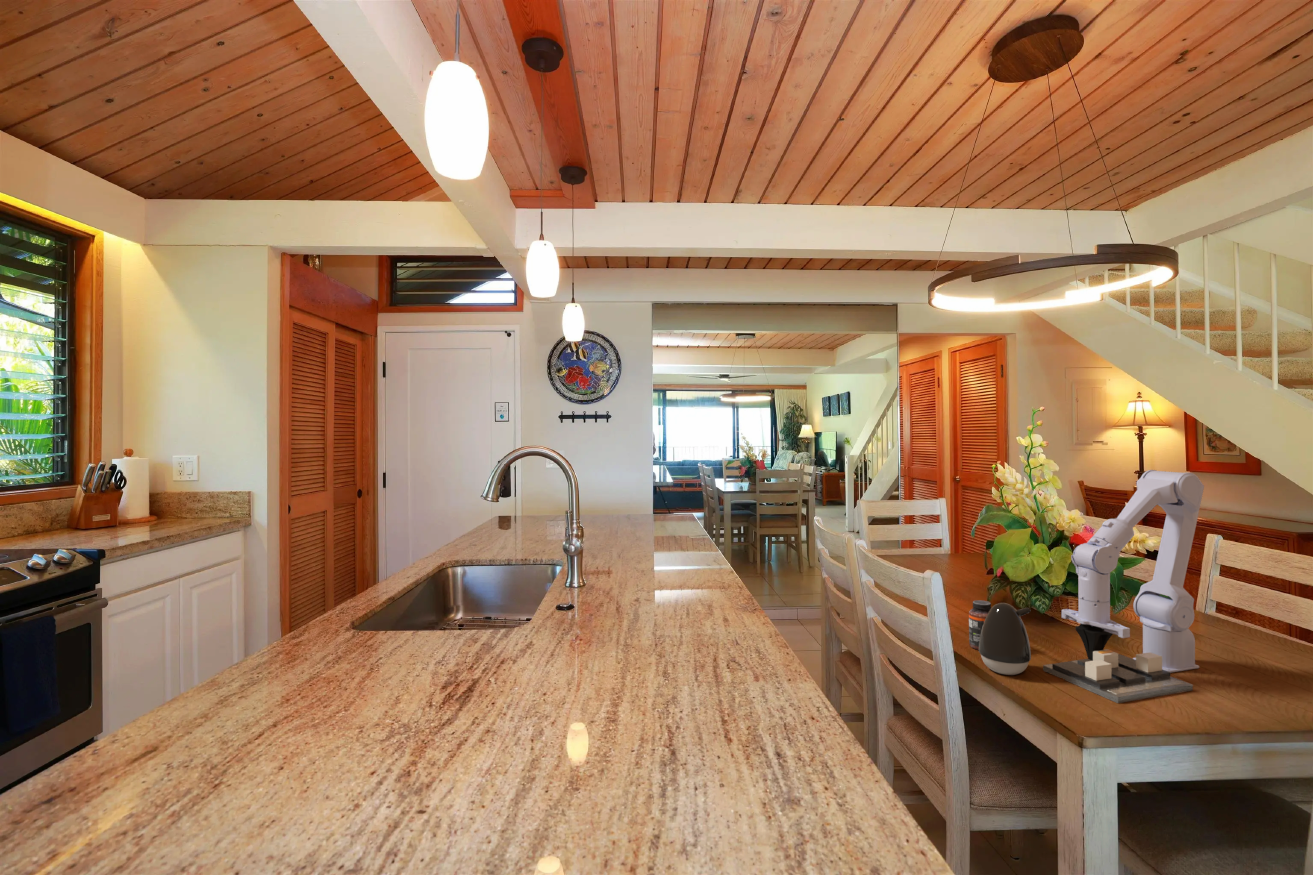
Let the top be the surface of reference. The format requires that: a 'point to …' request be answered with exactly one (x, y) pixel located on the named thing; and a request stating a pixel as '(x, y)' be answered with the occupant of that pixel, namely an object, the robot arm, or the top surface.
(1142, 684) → the breaker panel
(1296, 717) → the top surface
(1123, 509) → the robot arm
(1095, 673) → the block
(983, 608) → the supplement bottle
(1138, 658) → the block
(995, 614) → the pump dispenser
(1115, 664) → the breaker middle
